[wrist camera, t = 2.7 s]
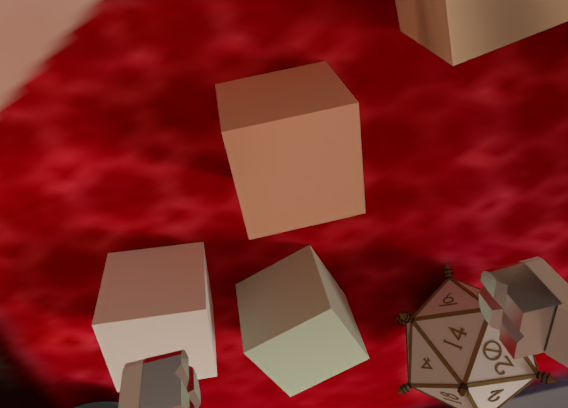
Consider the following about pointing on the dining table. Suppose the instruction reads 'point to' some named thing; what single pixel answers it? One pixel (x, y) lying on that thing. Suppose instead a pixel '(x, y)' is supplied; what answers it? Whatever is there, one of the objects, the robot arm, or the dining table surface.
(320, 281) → the block sage
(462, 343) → the game die
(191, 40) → the dining table surface
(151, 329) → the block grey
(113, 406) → the beverage bottle
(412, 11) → the block oak
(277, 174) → the block terracotta
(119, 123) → the dining table surface
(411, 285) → the dining table surface
